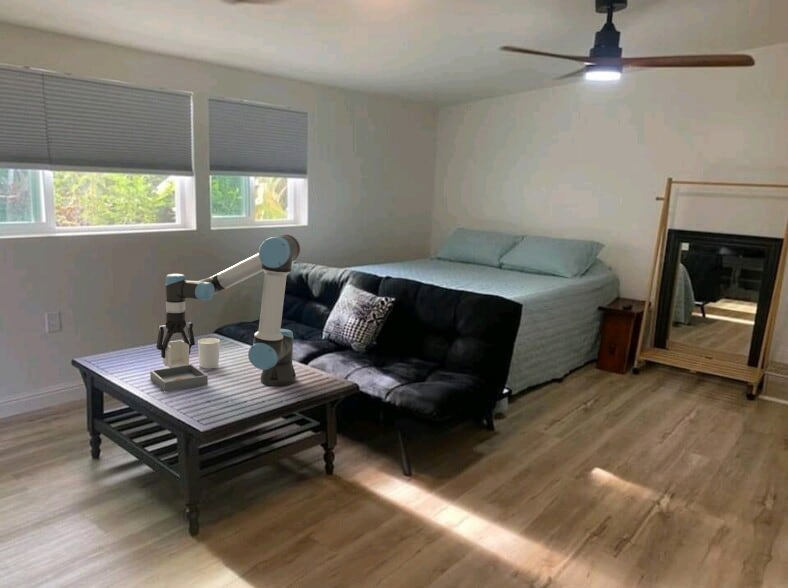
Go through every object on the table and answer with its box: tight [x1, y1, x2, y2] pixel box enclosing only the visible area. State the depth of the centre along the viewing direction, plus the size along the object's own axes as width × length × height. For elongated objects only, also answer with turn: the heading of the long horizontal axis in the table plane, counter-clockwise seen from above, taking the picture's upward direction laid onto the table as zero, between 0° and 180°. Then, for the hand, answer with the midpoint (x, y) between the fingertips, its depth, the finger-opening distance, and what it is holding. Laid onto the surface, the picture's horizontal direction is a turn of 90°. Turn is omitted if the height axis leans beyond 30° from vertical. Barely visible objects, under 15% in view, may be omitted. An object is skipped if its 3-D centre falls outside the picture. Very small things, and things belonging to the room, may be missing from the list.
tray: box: [149, 363, 209, 393], centre depth 236 cm, size 18×18×4 cm
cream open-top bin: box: [162, 339, 190, 368], centre depth 236 cm, size 8×8×9 cm
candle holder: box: [197, 337, 221, 369], centre depth 258 cm, size 10×10×12 cm
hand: (176, 363), depth 237 cm, fingers closed on cream open-top bin, 8 cm apart
